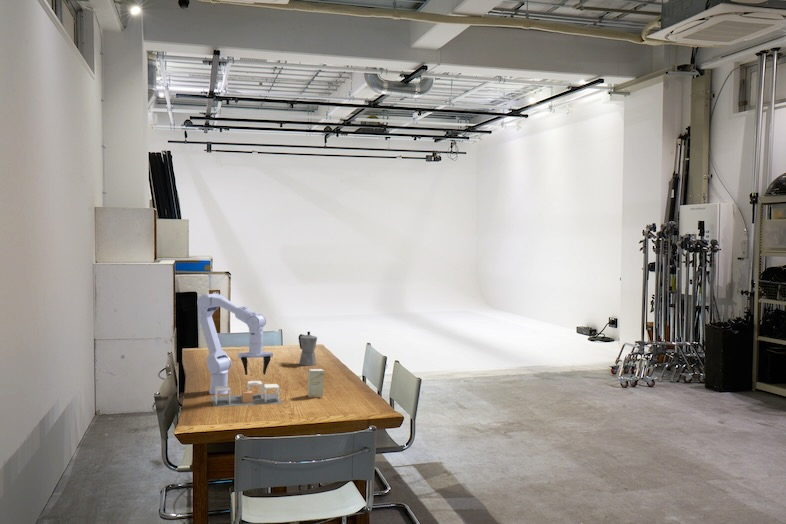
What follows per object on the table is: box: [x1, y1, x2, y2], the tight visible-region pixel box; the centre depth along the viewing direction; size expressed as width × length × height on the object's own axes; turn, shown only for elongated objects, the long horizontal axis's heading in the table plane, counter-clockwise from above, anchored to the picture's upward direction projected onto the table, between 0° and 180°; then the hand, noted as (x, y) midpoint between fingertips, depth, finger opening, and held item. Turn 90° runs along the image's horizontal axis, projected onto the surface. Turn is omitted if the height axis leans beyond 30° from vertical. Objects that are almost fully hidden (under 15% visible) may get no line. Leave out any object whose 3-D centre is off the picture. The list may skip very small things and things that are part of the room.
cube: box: [241, 390, 254, 403], centre depth 277 cm, size 4×4×4 cm
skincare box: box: [307, 368, 325, 398], centre depth 291 cm, size 6×4×12 cm
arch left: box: [214, 385, 231, 405], centre depth 274 cm, size 6×6×6 cm
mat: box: [210, 393, 283, 408], centre depth 280 cm, size 17×28×1 cm, turn 109°
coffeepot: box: [298, 331, 318, 367], centre depth 362 cm, size 15×9×18 cm, turn 44°
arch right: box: [263, 383, 280, 402], centre depth 280 cm, size 6×6×6 cm
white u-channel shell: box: [246, 380, 264, 398], centre depth 285 cm, size 6×6×6 cm
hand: (255, 374), depth 285 cm, fingers open, 7 cm apart
